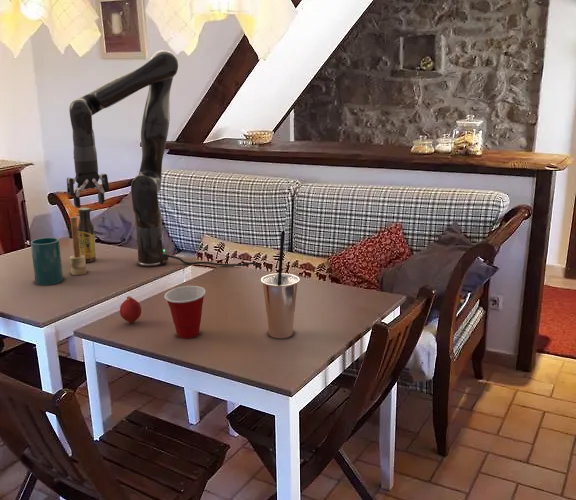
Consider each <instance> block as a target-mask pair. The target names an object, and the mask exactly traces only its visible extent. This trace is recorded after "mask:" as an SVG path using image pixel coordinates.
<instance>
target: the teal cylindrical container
mask: <svg viewBox="0 0 576 500" xmlns="http://www.w3.org/2000/svg"><path fill="white" fill-rule="evenodd" d="M30 248H31V249H30V250H31V258H32V266H33V275H34V281H35V284H36V285H37V286H51V285H57V284H60V283H62V282H63V281H64V272H63V264H62V255H61V245H60V239H59V238H57V237H40V238H36V239H32V240H31V241H30Z"/></svg>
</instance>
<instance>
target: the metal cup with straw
mask: <svg viewBox="0 0 576 500" xmlns="http://www.w3.org/2000/svg"><path fill="white" fill-rule="evenodd" d="M285 235H286V232H285V231H282V230H281V232H280V243H279V244H280V245H279V257H278V258H279V259H278V272H277V273H270V274H267V275H264V276H262V277H261V278H260V282H261V283H262V287H263V288H262V289H263V296H264V304H265V312H266V318H267V319H266V321H267V329H268V335H269V336H270V337H271V338H275V339H286V338H290V337H291V336H293V334H294V323H295V312H296V303H297V294H298V284H299V282H300V280H301V279H300V277H299V276H297V275H295V274H292V273H285V272H284V273H283V264H284V263H283V261H284V249H285Z"/></svg>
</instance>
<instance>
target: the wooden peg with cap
mask: <svg viewBox="0 0 576 500" xmlns="http://www.w3.org/2000/svg"><path fill="white" fill-rule="evenodd" d="M77 218H78V217H77V216H71V217H70V218H69V219H70V220H69V221H70V230H71V238H72V249H73V255H70V256H69V262H70V263H69V264H70V273H71V275H72V276H82V275H86V274H87V262H85V255H80V248H79V238H78V219H77Z"/></svg>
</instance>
